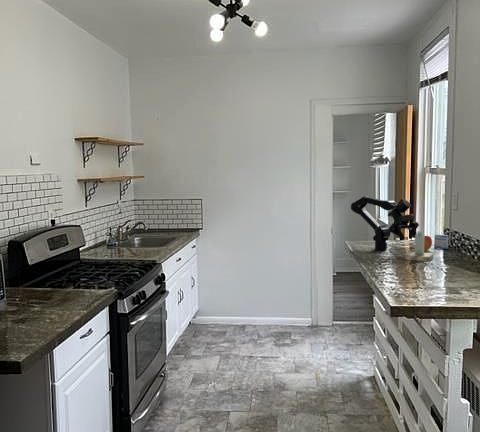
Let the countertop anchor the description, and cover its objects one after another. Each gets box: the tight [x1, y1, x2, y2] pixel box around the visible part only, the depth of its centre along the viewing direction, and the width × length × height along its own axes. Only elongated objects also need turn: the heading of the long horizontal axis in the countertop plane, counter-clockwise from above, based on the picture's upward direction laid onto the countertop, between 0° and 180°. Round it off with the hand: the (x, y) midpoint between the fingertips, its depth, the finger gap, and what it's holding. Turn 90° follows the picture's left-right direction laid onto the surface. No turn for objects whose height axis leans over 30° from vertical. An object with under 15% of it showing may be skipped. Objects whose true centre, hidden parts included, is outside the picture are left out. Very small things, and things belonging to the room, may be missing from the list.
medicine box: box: [433, 234, 449, 250], centre depth 304 cm, size 8×4×9 cm, turn 62°
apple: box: [424, 235, 433, 252], centre depth 294 cm, size 10×10×10 cm
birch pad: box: [404, 251, 434, 262], centre depth 270 cm, size 13×13×2 cm
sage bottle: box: [414, 230, 426, 255], centre depth 270 cm, size 5×5×13 cm
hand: (410, 238), depth 276 cm, fingers open, 9 cm apart
